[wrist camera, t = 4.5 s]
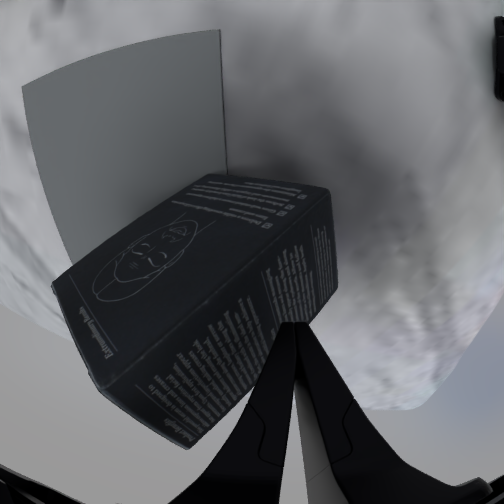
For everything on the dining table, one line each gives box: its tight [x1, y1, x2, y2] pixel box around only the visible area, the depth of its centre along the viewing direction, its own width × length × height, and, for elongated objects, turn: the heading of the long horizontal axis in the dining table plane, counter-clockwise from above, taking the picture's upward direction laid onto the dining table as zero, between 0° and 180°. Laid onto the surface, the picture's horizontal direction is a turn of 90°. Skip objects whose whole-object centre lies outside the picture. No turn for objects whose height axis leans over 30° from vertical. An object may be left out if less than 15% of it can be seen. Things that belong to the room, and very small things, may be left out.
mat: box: [22, 30, 227, 265], centre depth 17 cm, size 14×20×1 cm
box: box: [51, 174, 338, 450], centre depth 12 cm, size 8×6×11 cm
